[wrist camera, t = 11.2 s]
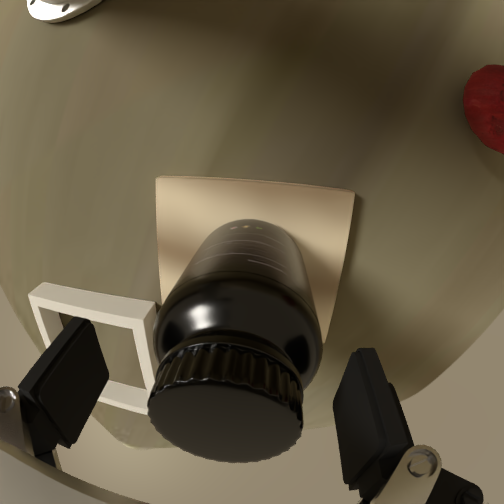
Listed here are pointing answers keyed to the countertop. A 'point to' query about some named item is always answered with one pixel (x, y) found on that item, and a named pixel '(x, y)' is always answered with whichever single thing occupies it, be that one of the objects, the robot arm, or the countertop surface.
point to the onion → (486, 105)
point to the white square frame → (110, 312)
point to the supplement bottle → (236, 347)
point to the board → (260, 208)
